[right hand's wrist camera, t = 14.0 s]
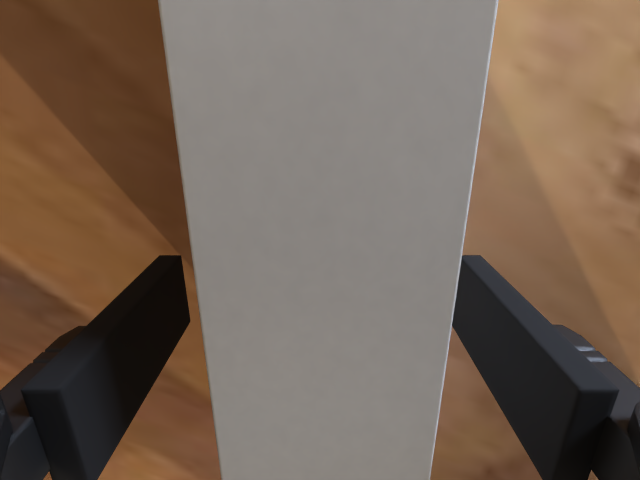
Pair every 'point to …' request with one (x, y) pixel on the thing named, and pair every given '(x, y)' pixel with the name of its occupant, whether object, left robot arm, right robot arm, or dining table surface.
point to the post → (327, 220)
